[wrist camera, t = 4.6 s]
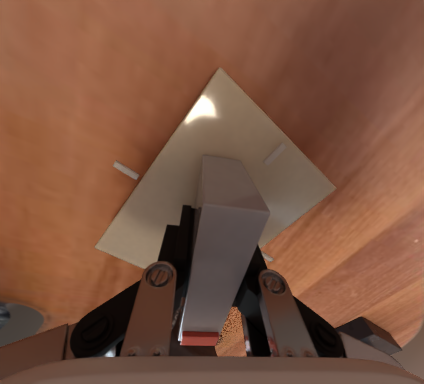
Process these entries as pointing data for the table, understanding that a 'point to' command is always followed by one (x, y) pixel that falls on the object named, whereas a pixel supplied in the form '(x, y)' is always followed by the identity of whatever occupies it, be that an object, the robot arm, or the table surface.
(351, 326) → the switch block
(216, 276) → the grey red-tipped bar
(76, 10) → the table surface
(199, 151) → the base
